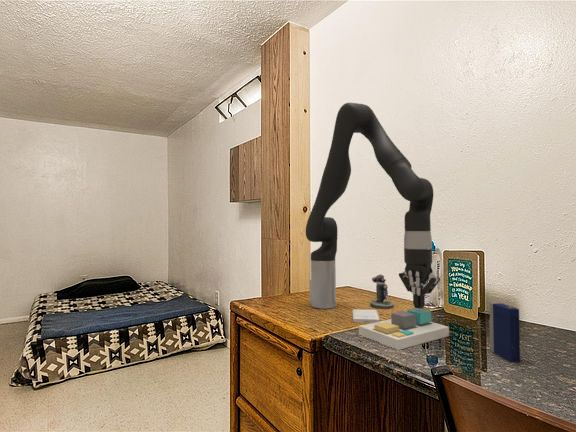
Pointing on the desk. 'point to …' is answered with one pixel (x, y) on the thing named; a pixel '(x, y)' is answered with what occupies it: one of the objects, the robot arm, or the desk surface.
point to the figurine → (381, 294)
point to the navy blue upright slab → (504, 331)
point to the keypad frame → (405, 334)
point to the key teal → (421, 315)
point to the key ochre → (386, 328)
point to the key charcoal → (403, 319)
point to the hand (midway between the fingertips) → (419, 307)
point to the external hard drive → (365, 316)
